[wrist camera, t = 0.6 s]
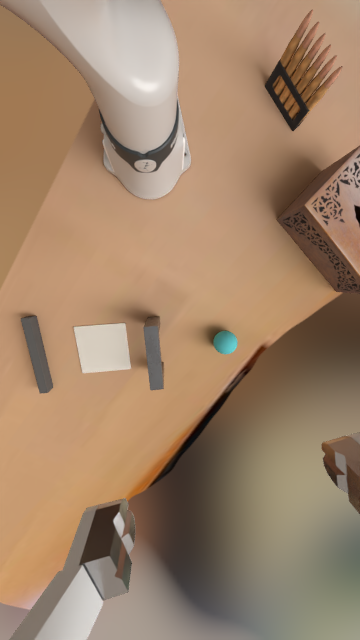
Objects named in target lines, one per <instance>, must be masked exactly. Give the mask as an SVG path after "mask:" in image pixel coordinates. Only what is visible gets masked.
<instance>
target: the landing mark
mask: <svg viewBox="0 0 360 640" xmlns="http://www.w3.org/2000/svg"><path fill="white" fill-rule="evenodd" d="M74 332H75V337H76V342H77V347H78V353H79V358H80V363H81V368H82V373H91V372H102V371H114V370H125V369H131V364H130V356H129V349H128V341H127V333H126V326H125V323H117V324H104V325H91V326H77V327H74Z"/></svg>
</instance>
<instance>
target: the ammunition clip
mask: <svg viewBox="0 0 360 640" xmlns="http://www.w3.org/2000/svg"><path fill="white" fill-rule="evenodd" d="M312 13H313V9H312V10H311V11H310V12H309V13H308V14H307V16H306V17H305V18H304V20H303V21H302V23H301V25H300V26H299V28H298V30H297V31H296V33H295V35H294V37H293V38H292V39H291V41H290V42H289V44H288V46H287V48H286V50H285V52H284V54H283V56H282V57H281V59H280V60H279V62H278V64H277V65H276V67H275V69H274V71H273V72H272V74H271V76H270V78H269V79H268V81H267V83H266V85H265V88H266V89H267V91H268V92H269V94H270V96H271V97H272V99H273V100H274V102H275V104H276V105H277V107H278V109H279V110H280V112H281V113H282V115H283V117H284V118H285V120H286V121H287V123H288V125H289V126H290V128H291V130H292V131H294V130H295V129H296V128H297V127H298V126H299V125H300V124H301V123H302V121H303V120H304V119H305V117H306V116H307V115H308V114H309V112H310V111H311V110H312V109H313V108H314V106H315V105H316V104H317V103H318V102H319V101H320V99H321V98H322V97H323V96H324V94H325V93H326V91H327V90H328V89H329V87H330V86H331V85H332V84H333V82H334V81H335V79H336V78H337V77H338V75H339V73H340V72H341V70H342V66H341V67H339V68H338V69H337V70H335V71H334V72H333V73H332V74H331V75H330V76H329V78H328V79H327V80H326V81H325V82H324V83H323V84H322V85H321V86H320V87H319V85H320V83H321V82H322V80H323V79H324V78H325V76H326V75H327V73H328V72H329V71H330V69H331V68H332V66H333V64H334V62H335V60H336V58H337V56H334V57H333V58H332V59H331V60H330V61H329V62H328V63H327V64H326V65H325V66H324V67H323V68H322V70H321V71H320V72H319V73H318V75H317V76H316V77H315V78H314V79H313V77H314V76H315V74H316V72H317V70H318V69H319V67H320V66H321V64H322V63H323V61H324V60H325V58H326V56H327V55H328V53H329V50H330V48H331V45H329V46H328V47H326V48H325V49H324V50H323V52H322V53H321V54H320V55H319V56H318V58H317V59H316V61H315V62H314V63H313V64H312V66H311V67H310V68H309V69H308V67H309V65H310V63H311V62H312V60H313V58H314V56H315V55H316V53H317V52H318V50H319V48H320V47H321V45H322V42H323V40H324V38H325V33H324V34H323V35H322V36H321V37H320V38H319V39H318V40H317V41H316V42H315V44H314V45H313V47H312V48H311V50H310V51H309V52H308V54H307V55H306V57H305V58H304V59H303V60H302V58H303V57H304V54H305V52H306V50H307V49H308V47H309V45H310V43H311V41H312V40H313V38H314V36H315V34H316V31H317V29H318V26H319V22H317V23H316V24H315V25H314V26H313V27H312V29H311V30H310V31H309V33H308V34H307V36H306V37H305V39H304V41H303V42H302V44H301V45H300V47H299V48H298V49H297V47H298V45H299V42H300V40H301V38H302V36H303V34H304V32H305V31H306V29H307V26H308V24H309V22H310V19H311V17H312ZM296 49H297V51H296ZM295 51H296V52H295ZM294 53H295V54H294ZM293 54H294V56H293ZM292 56H293V57H292ZM291 58H292V59H291ZM301 60H302V62H301ZM300 62H301V63H300ZM299 63H300V65H299ZM298 65H299V66H298ZM297 67H298V68H297ZM296 68H297V69H296ZM307 69H308V70H307ZM306 71H307V72H306ZM305 72H306V73H305ZM304 73H305V74H304ZM303 75H304V76H303ZM291 76H292V77H291ZM302 76H303V77H302ZM290 78H291V79H290ZM301 78H302V79H301ZM279 79H280V80H279ZM312 79H313V80H312ZM311 80H312V81H311ZM310 81H311V82H310ZM309 83H310V84H309ZM308 84H309V85H308ZM296 85H297V86H296ZM285 86H286V87H285ZM295 87H296V88H295ZM306 87H307V88H306ZM318 87H319V88H318ZM317 88H318V89H317ZM316 89H317V90H316ZM315 91H316V92H315ZM314 92H315V93H314ZM313 93H314V94H313ZM290 94H291V95H290ZM301 94H302V95H301ZM312 94H313V95H312ZM300 95H301V96H300ZM295 102H296V103H295ZM306 102H307V103H306ZM294 103H295V104H294ZM305 103H306V104H305ZM298 112H299V113H298Z"/></svg>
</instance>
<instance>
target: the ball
mask: <svg viewBox="0 0 360 640" xmlns="http://www.w3.org/2000/svg"><path fill="white" fill-rule="evenodd" d="M214 347H215V349H216V350H217V351H218V352H220V353H222V354H230V353H232V352H233V351H234V350H235V349H236V347H237V339H236V337H235V335H234V334H233V333H231V332H229V331H221V332H219V333H218V334H217V335H216V336H215V338H214Z"/></svg>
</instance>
